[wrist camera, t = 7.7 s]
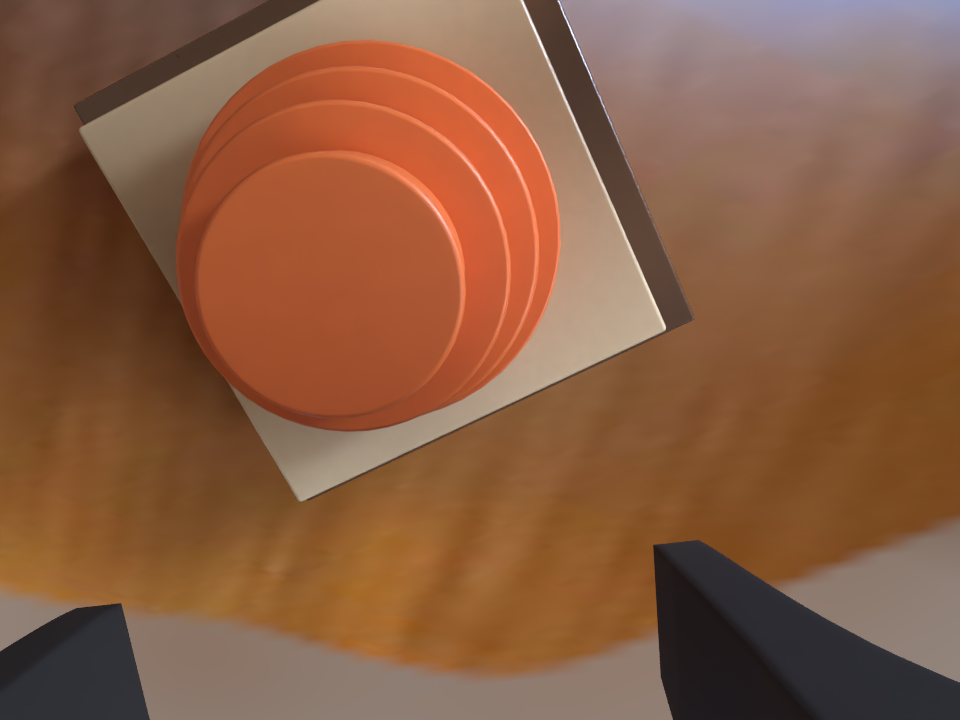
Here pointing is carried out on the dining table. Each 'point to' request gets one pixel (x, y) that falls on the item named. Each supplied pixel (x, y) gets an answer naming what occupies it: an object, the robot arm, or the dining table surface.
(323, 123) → the cone
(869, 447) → the dining table surface
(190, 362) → the dining table surface
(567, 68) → the block stack
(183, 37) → the dining table surface
